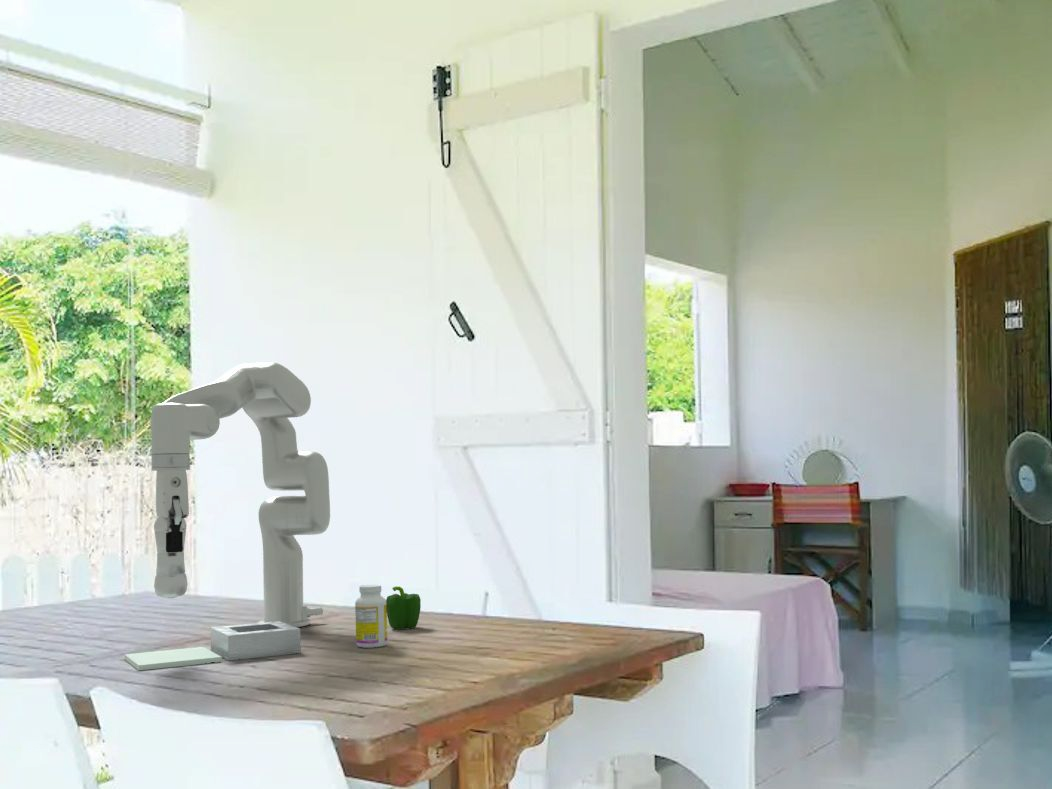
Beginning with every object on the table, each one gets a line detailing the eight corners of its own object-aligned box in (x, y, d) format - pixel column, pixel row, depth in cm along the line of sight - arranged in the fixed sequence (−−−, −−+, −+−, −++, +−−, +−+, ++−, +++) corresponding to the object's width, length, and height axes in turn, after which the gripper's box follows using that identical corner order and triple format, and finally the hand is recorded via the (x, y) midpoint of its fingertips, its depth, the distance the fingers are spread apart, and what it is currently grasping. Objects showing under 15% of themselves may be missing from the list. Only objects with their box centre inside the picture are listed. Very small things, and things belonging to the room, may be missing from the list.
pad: (203, 651, 244) (203, 646, 244) (221, 661, 230) (221, 656, 230) (124, 659, 236) (124, 654, 236) (138, 670, 222) (138, 665, 222)
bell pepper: (416, 624, 277) (415, 583, 277) (424, 629, 269) (423, 586, 269) (382, 627, 274) (381, 585, 274) (389, 631, 266) (388, 588, 267)
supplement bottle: (374, 642, 250) (373, 583, 251) (393, 645, 245) (392, 585, 246) (349, 646, 245) (348, 586, 246) (368, 649, 241) (367, 588, 241)
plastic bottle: (194, 596, 236) (193, 498, 237) (173, 599, 229) (173, 499, 231) (167, 596, 238) (167, 499, 239) (147, 599, 231) (146, 500, 233)
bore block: (279, 644, 251) (279, 621, 252) (300, 653, 238) (300, 628, 239) (210, 651, 244) (210, 627, 244) (228, 660, 231) (228, 635, 231)
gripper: (198, 462, 230) (199, 552, 228) (180, 464, 245) (180, 548, 243) (160, 462, 226) (160, 554, 225) (143, 464, 241) (143, 550, 240)
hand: (170, 550), depth 234 cm, fingers closed on plastic bottle, 6 cm apart
